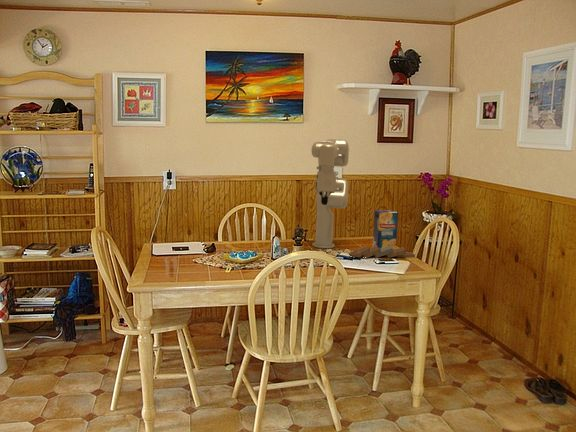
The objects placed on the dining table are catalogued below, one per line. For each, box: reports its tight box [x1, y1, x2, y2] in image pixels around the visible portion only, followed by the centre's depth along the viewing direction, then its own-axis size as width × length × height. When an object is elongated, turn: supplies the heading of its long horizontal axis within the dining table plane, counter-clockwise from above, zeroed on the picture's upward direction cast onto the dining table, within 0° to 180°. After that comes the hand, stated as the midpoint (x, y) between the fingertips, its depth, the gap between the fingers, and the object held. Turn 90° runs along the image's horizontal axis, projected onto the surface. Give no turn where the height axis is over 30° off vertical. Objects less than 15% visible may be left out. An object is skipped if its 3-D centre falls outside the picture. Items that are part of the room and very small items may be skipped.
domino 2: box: [361, 246, 381, 259], centre depth 291 cm, size 5×2×10 cm
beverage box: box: [371, 209, 399, 249], centre depth 306 cm, size 7×11×22 cm, turn 103°
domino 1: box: [348, 245, 370, 258], centre depth 288 cm, size 5×2×10 cm
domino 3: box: [372, 246, 393, 259], centre depth 293 cm, size 5×2×10 cm
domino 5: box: [395, 251, 415, 259], centre depth 297 cm, size 5×2×10 cm
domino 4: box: [385, 247, 407, 259], centre depth 293 cm, size 5×2×10 cm
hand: (324, 204), depth 285 cm, fingers closed
